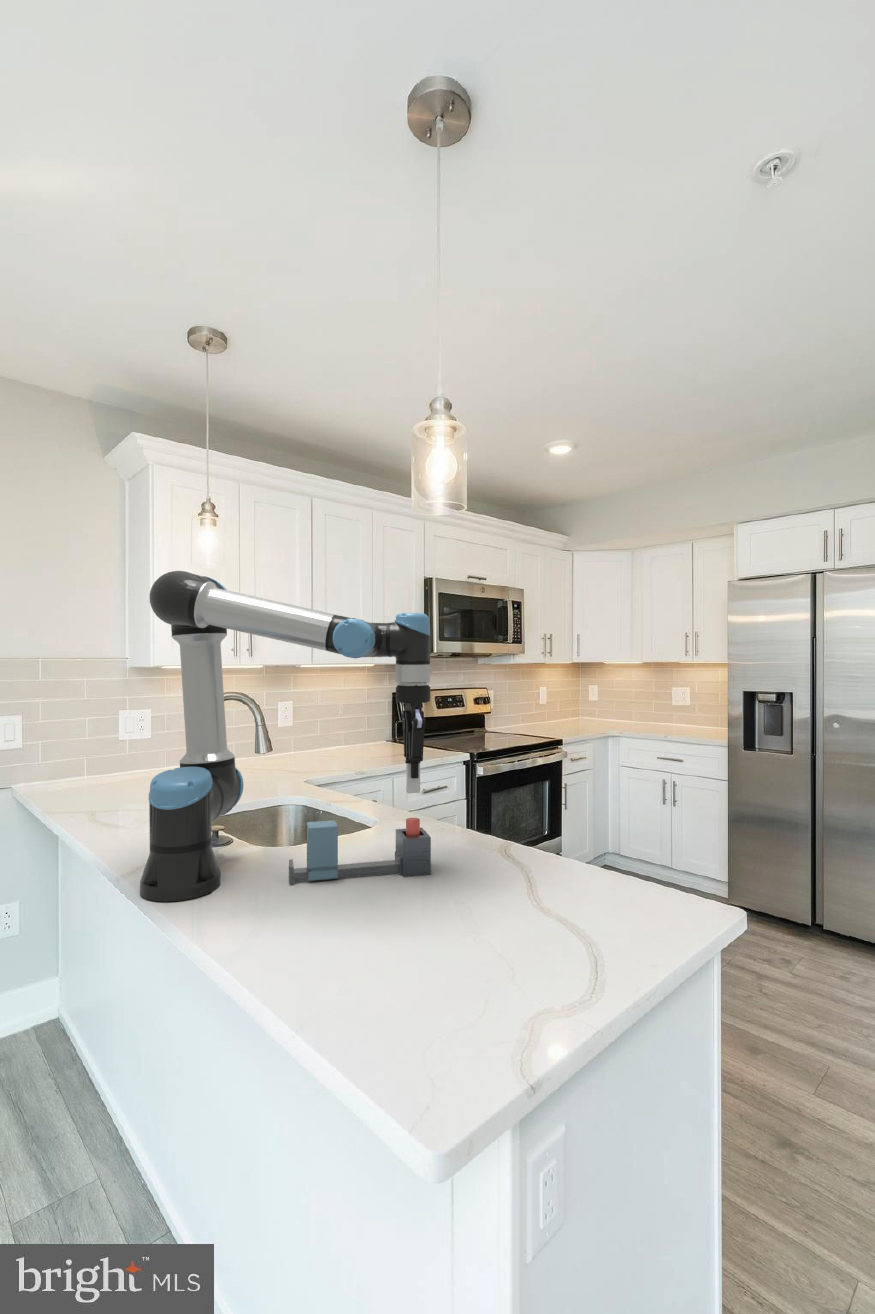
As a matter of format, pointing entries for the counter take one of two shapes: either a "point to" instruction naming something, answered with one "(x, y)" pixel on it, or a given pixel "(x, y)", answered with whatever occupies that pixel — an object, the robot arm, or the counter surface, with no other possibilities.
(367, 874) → the rail
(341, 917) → the counter surface
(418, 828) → the cylinder
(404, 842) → the block
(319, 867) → the carriage
